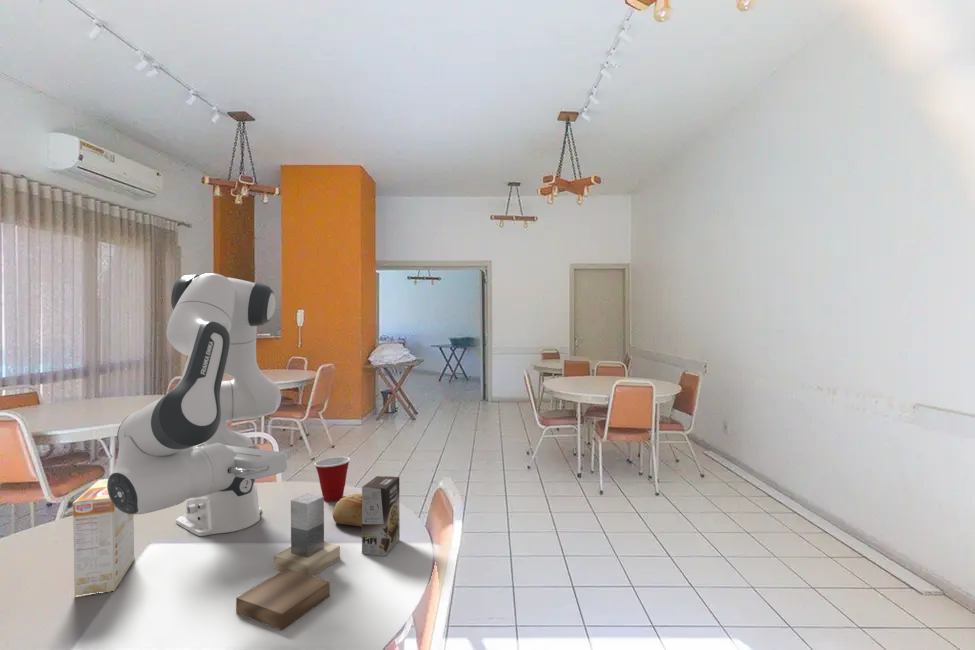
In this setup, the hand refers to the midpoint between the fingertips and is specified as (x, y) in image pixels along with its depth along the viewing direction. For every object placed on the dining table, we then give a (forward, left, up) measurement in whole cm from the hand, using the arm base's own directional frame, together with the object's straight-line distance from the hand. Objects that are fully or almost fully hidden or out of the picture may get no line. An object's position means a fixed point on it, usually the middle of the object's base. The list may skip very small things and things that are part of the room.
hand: (272, 451), depth 105 cm
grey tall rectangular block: (+1, +9, -25) cm, 26 cm away
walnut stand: (+9, -5, -28) cm, 30 cm away
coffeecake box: (-34, -14, -28) cm, 46 cm away
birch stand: (+1, +9, -28) cm, 29 cm away
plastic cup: (-23, +43, -28) cm, 56 cm away
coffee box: (+11, +23, -28) cm, 38 cm away
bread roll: (-3, +31, -28) cm, 42 cm away
